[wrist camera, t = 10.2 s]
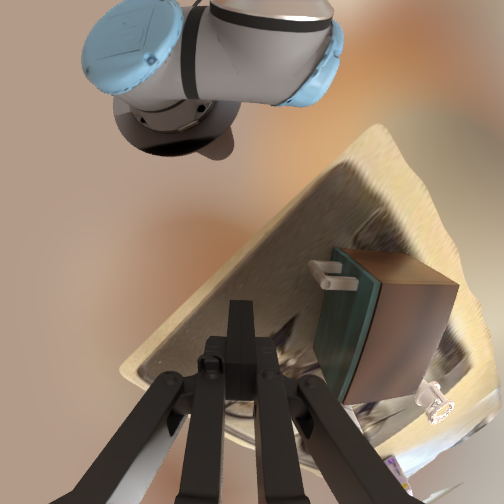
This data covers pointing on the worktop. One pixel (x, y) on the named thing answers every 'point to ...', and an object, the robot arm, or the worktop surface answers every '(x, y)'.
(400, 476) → the purple printed carton
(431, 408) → the white slotted fitting
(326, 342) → the cupboard door
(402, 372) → the cupboard
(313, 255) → the worktop surface
